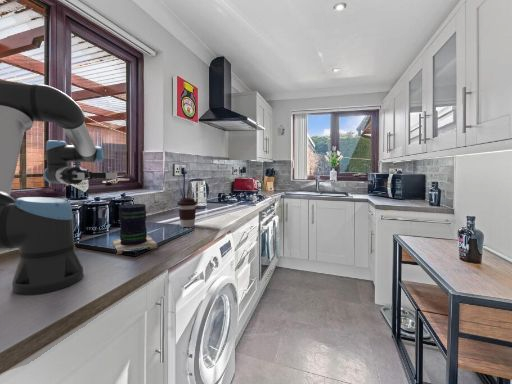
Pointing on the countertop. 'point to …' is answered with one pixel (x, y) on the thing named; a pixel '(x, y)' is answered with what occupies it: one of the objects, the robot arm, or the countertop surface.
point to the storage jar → (132, 224)
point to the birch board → (121, 248)
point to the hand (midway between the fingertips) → (101, 176)
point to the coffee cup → (187, 212)
